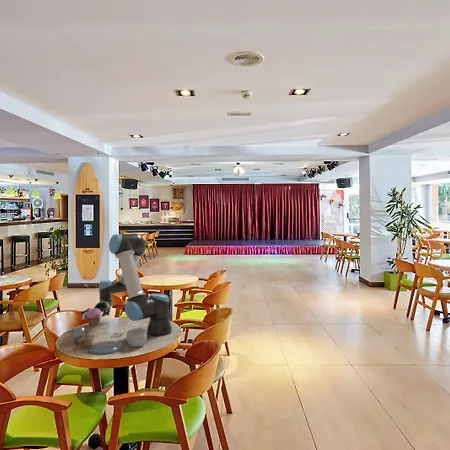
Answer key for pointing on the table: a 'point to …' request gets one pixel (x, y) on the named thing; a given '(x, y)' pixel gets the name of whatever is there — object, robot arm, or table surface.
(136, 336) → the teacup
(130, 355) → the table surface
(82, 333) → the metal tin
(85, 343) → the walnut block
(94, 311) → the cupcake
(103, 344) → the plate
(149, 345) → the table surface
